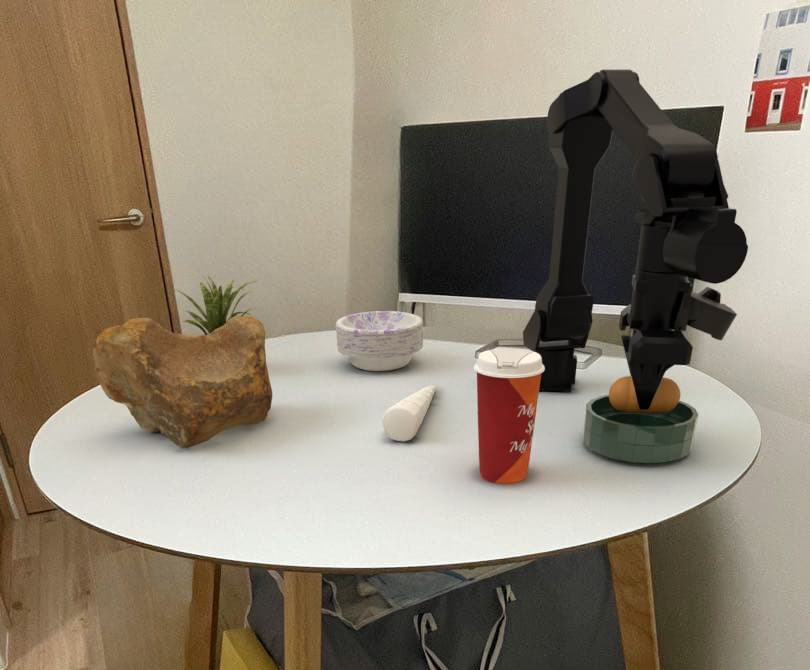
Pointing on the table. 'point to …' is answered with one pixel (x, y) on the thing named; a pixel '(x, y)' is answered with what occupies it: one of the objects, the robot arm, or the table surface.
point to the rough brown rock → (186, 377)
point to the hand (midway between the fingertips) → (641, 403)
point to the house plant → (215, 306)
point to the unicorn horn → (407, 415)
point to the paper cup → (506, 412)
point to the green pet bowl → (639, 432)
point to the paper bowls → (379, 339)
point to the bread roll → (626, 399)
